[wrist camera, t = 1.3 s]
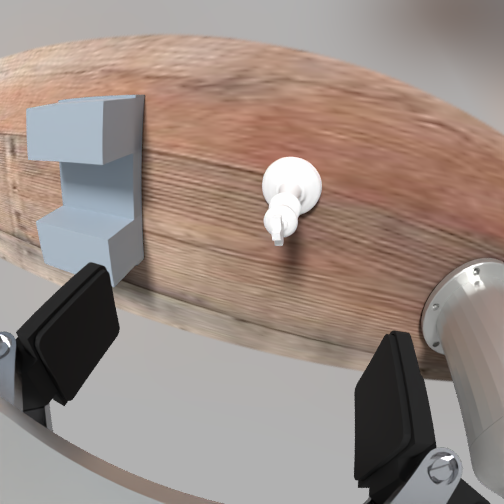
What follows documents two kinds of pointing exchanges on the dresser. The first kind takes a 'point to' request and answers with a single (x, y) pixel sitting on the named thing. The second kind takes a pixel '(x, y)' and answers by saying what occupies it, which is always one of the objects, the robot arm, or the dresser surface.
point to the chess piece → (289, 195)
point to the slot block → (92, 181)
